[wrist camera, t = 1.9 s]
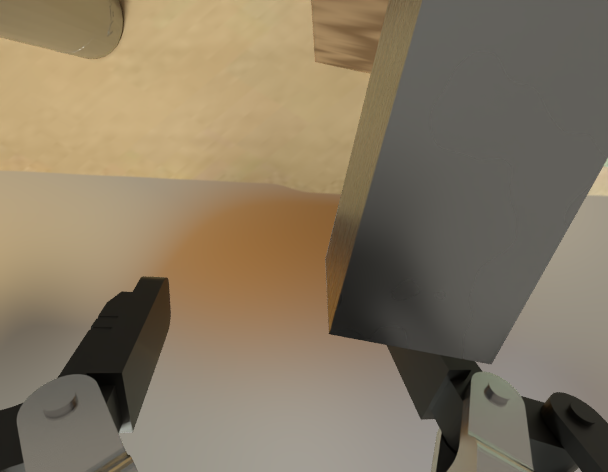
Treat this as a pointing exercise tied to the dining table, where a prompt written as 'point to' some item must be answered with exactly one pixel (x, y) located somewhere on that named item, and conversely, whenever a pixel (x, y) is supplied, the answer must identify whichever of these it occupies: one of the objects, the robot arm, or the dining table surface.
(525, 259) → the rod
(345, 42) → the stand
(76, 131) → the dining table surface
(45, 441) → the robot arm
